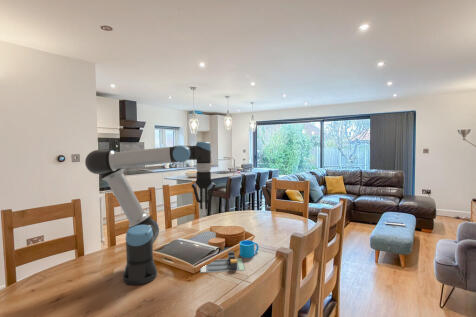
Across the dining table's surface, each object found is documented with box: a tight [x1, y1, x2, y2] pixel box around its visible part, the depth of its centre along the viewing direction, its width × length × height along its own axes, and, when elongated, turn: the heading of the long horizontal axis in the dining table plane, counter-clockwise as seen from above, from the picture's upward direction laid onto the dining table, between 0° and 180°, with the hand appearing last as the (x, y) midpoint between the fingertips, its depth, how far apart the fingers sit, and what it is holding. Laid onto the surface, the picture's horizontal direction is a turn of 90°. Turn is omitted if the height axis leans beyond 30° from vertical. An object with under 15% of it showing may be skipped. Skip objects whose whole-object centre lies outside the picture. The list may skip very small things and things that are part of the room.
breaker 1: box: [227, 250, 235, 260], centre depth 139 cm, size 3×2×4 cm
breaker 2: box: [229, 254, 236, 265], centre depth 135 cm, size 3×2×4 cm
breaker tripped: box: [230, 259, 237, 270], centre depth 130 cm, size 3×2×4 cm
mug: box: [239, 239, 260, 259], centre depth 148 cm, size 12×8×8 cm
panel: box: [199, 257, 246, 274], centre depth 134 cm, size 22×14×2 cm, turn 96°
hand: (203, 215), depth 141 cm, fingers closed
